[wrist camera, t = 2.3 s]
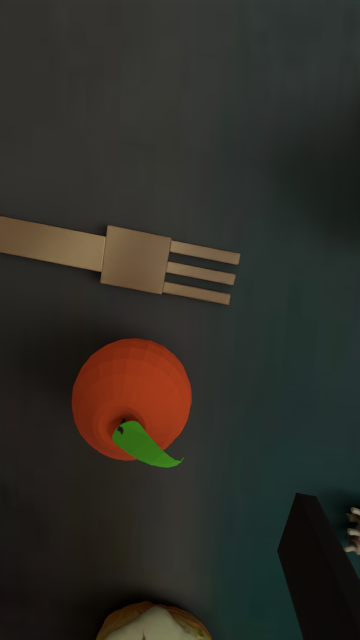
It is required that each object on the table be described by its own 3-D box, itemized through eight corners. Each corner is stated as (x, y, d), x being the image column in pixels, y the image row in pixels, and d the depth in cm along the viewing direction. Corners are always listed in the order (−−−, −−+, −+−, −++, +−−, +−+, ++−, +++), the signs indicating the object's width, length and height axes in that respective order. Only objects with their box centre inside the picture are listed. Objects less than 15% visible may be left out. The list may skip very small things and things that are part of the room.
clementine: (221, 386, 21) (238, 451, 14) (151, 444, 22) (135, 530, 15) (142, 305, 20) (119, 332, 13) (72, 370, 21) (17, 427, 14)
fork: (-130, 237, 20) (-142, 236, 19) (-132, 178, 19) (-144, 175, 18) (227, 305, 20) (228, 307, 19) (239, 251, 19) (241, 251, 19)
